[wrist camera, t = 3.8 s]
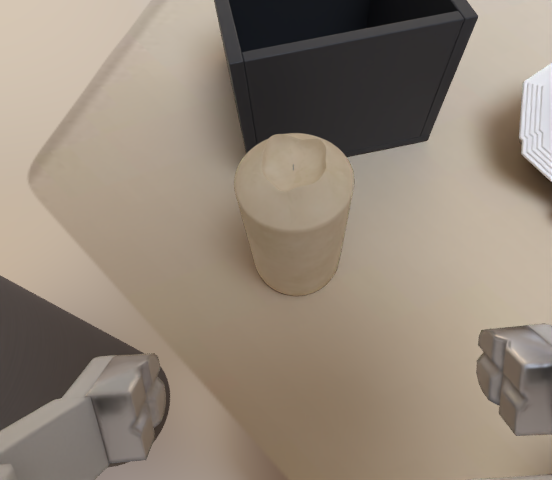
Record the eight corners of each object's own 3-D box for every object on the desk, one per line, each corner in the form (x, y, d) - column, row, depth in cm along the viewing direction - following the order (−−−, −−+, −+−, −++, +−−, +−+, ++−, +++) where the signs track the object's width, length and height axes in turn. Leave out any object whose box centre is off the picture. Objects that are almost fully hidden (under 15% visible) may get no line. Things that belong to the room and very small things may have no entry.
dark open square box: (251, 176, 28) (228, 64, 20) (226, 59, 35) (201, -65, 26) (427, 140, 29) (479, 16, 20) (371, 31, 35) (392, -99, 27)
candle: (240, 246, 26) (206, 144, 17) (308, 207, 27) (310, 93, 18) (283, 313, 23) (270, 236, 15) (356, 268, 24) (386, 171, 16)
